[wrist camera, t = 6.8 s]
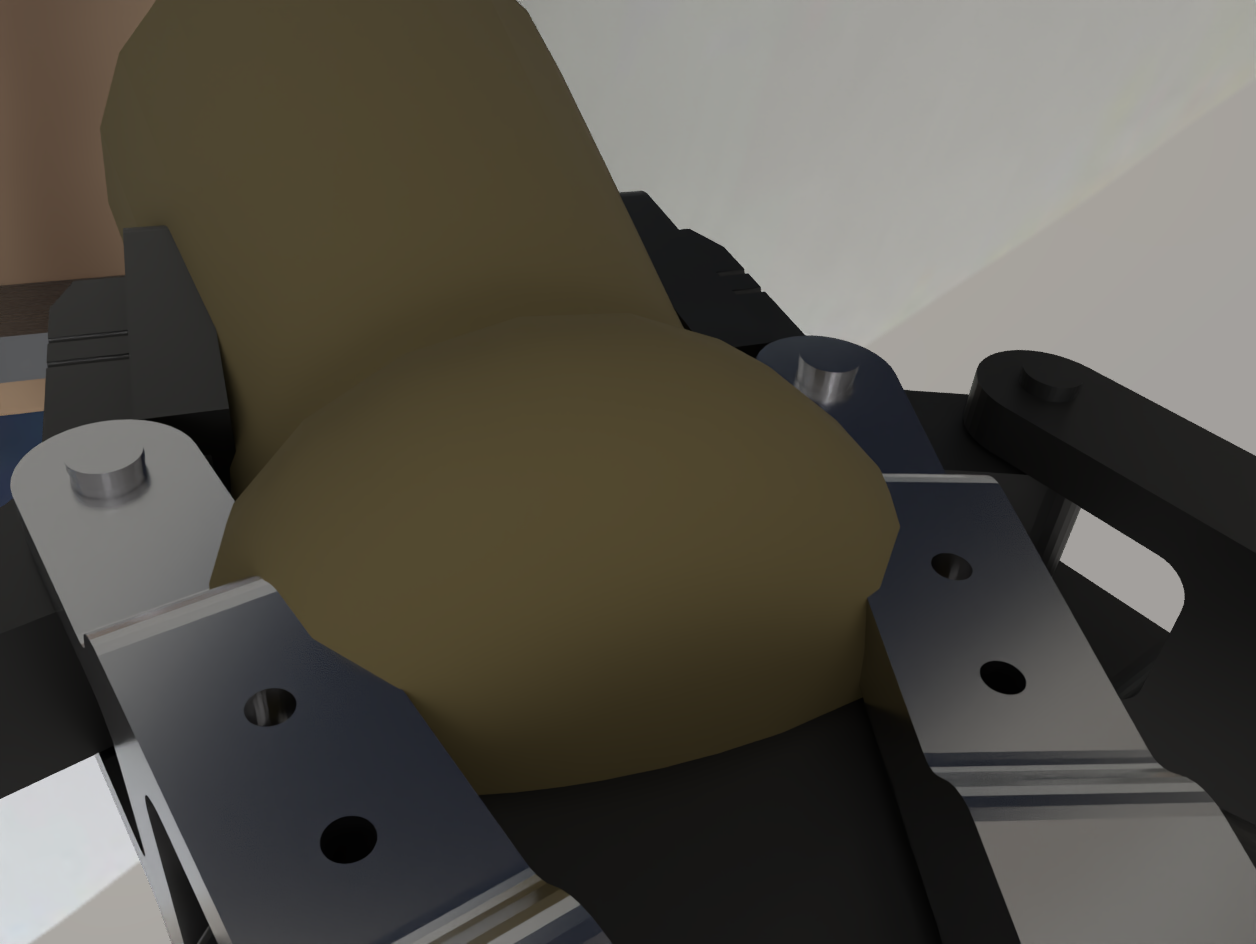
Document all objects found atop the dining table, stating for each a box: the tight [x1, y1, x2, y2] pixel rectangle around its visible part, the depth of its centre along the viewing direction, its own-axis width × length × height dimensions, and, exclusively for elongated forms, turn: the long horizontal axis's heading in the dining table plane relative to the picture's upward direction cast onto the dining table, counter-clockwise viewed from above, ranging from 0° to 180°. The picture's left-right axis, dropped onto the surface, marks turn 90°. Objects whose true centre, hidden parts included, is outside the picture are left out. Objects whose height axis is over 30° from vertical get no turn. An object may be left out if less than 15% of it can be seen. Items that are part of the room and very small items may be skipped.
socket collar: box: [0, 275, 125, 383], centre depth 25 cm, size 11×11×2 cm
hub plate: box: [0, 0, 156, 416], centre depth 26 cm, size 18×16×2 cm
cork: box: [100, 0, 900, 795], centre depth 11 cm, size 6×6×11 cm
